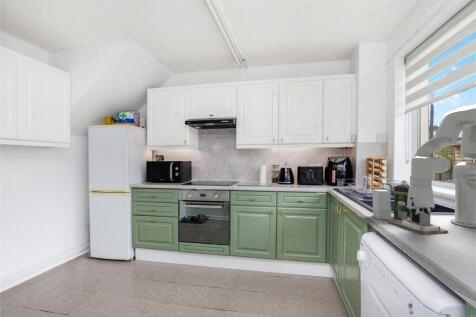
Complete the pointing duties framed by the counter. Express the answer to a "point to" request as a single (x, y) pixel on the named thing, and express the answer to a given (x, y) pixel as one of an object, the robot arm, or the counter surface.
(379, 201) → the skincare box
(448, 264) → the counter surface
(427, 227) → the end holder
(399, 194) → the coffee jar
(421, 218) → the connector block
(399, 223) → the board
